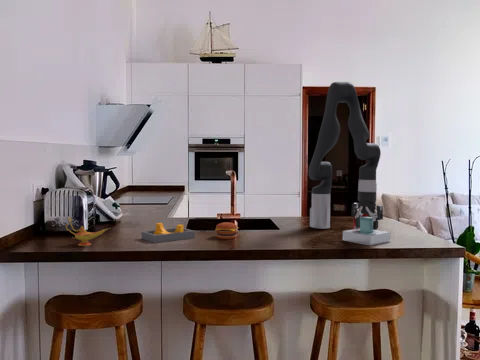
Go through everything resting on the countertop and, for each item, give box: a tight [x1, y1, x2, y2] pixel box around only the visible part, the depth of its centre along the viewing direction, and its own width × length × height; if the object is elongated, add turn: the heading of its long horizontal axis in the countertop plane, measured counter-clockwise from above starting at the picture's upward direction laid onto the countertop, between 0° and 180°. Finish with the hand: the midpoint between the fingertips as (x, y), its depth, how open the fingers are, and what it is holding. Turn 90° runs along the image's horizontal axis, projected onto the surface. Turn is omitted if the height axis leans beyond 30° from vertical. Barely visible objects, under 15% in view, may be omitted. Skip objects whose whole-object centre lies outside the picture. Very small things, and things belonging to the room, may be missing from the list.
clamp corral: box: [141, 227, 196, 244], centre depth 196 cm, size 12×19×3 cm, turn 129°
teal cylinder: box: [360, 217, 374, 233], centre depth 192 cm, size 5×5×10 cm
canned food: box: [352, 208, 371, 230], centre depth 213 cm, size 8×8×11 cm
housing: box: [342, 228, 391, 246], centre depth 192 cm, size 14×14×4 cm
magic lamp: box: [65, 216, 111, 247], centre depth 180 cm, size 7×18×11 cm, turn 88°
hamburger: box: [214, 221, 239, 240], centre depth 199 cm, size 9×10×7 cm
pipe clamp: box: [154, 222, 185, 235], centre depth 195 cm, size 12×4×6 cm, turn 71°
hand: (366, 228), depth 192 cm, fingers open, 8 cm apart
